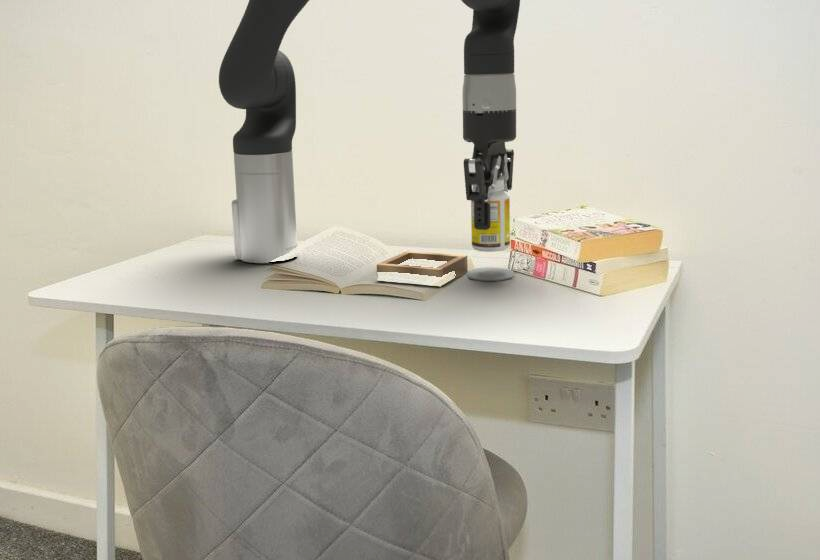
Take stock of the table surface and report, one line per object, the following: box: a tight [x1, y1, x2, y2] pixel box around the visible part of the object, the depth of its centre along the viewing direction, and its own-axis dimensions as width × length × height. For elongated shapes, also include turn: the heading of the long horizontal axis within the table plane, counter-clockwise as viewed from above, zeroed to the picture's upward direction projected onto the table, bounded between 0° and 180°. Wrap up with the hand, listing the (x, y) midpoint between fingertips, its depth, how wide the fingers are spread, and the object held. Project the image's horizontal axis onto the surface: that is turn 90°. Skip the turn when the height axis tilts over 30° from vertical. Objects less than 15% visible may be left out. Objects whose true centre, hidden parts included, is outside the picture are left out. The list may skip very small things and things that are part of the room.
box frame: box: [376, 250, 469, 279], centre depth 140 cm, size 10×10×2 cm
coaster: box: [465, 267, 515, 282], centre depth 140 cm, size 7×7×1 cm
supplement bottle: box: [470, 178, 511, 253], centre depth 138 cm, size 6×6×10 cm
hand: (490, 224), depth 138 cm, fingers closed on supplement bottle, 5 cm apart
